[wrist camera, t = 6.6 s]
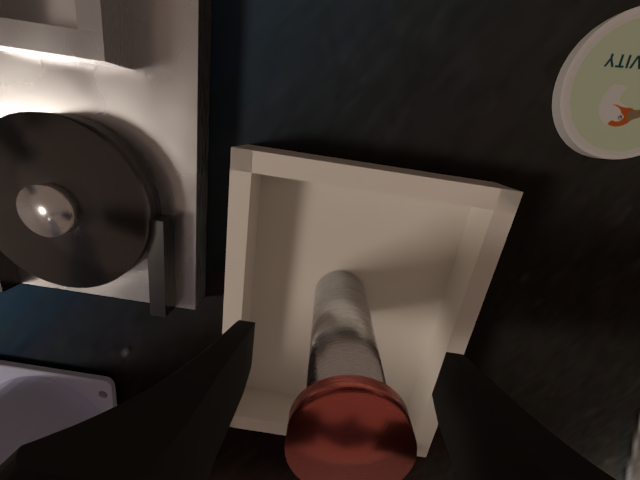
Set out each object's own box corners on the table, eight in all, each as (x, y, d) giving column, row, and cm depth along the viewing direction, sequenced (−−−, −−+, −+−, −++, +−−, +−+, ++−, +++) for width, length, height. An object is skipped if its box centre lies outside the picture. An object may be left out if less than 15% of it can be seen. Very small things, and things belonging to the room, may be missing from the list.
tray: (415, 417, 18) (425, 457, 16) (232, 389, 18) (217, 425, 16) (493, 181, 13) (523, 192, 11) (248, 144, 13) (230, 147, 11)
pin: (370, 323, 15) (409, 499, 8) (306, 320, 15) (285, 493, 8) (376, 263, 14) (426, 404, 7) (306, 261, 14) (283, 397, 7)
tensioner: (205, 296, 16) (176, 332, 13) (11, 267, 16) (-59, 296, 13) (214, -114, 11) (170, -201, 8) (-77, -158, 11) (-226, -262, 8)
